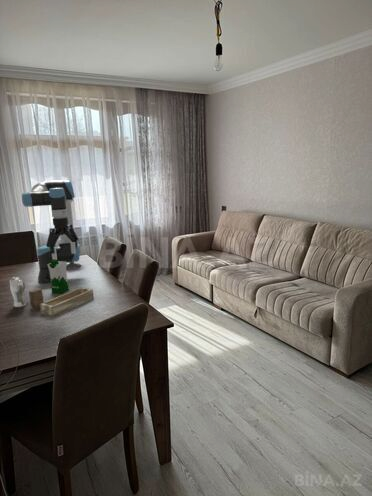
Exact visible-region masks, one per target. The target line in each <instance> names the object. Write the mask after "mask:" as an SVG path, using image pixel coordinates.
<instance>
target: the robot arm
mask: <svg viewBox="0 0 372 496" xmlns="http://www.w3.org/2000/svg"><path fill="white" fill-rule="evenodd" d="M75 197H76V196H75V192H74V188H73V184H72V181H71V180H68V179H60V180H44V181H42V182H39V183H38V182H37V183H36V184H35V185H33V186H32V188H31V191H30V192H28V191H27V192H23V193H22V194H21V201H22V205H23V207H27V208H28V207H30V208H32V207H43V206H50V207H51V217H52V224H53V226H54V227H50V228H49V229H48V231H49V233H48V238H47V241H46V244H44V245H42V246H40V247H37V249H36V250H37V251H36V252H37V253H36V256H37V259H38V261H37V262H38V268H39V271H38V277H37V282H38V283H40V284H51V278H50V271H49V268H48V265H47V264H50V263H51V260H58V261H64V262H67V264H69V263H70V262H74V263H78V262H79V261H80V258H81V245H80V244H78V243H79V242H78V240H79V237H78V235H77V233H76V232H75V230H74V229H75V227H74V222H73V220H74V219H73V212H72V202H73V201H74V198H75ZM59 238H60V241H59V243H58V245H56V244H57V241H58V240H59Z"/></svg>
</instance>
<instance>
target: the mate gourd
mask: <svg viewBox="0 0 372 496" xmlns="http://www.w3.org/2000/svg"><path fill="white" fill-rule="evenodd" d="M77 243H78V244H79V242H77ZM80 265H81V263H79V262H69V263H67V264H66V269H76V268H79V267H81V266H80ZM78 266H79V267H78ZM75 267H76V268H75Z"/></svg>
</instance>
